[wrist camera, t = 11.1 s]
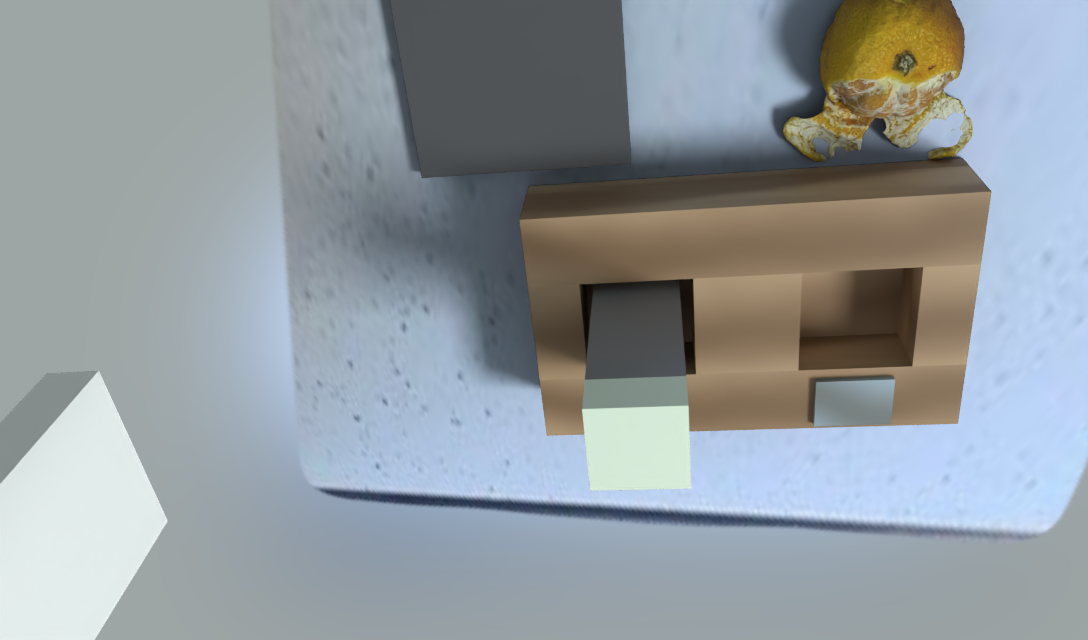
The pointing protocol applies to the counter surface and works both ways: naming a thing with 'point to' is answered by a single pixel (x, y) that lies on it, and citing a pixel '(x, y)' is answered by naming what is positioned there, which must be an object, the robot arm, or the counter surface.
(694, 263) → the socket block
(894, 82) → the fruit
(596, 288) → the plug
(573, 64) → the mat
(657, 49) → the counter surface
